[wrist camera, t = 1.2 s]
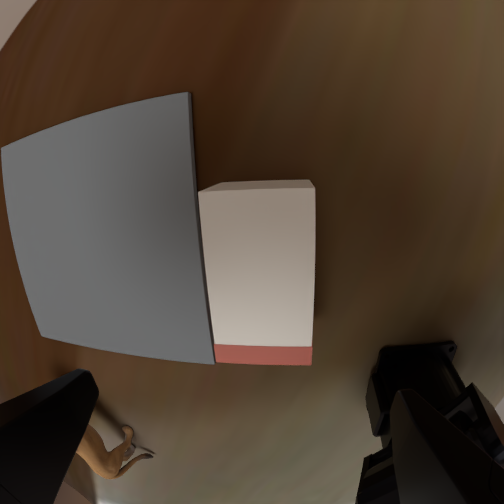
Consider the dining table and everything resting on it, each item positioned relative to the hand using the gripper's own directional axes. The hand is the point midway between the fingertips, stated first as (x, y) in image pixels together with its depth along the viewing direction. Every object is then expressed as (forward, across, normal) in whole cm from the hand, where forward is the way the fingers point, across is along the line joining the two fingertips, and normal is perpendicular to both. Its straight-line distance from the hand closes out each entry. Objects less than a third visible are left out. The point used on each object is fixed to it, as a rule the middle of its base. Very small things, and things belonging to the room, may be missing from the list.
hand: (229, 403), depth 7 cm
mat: (+12, +13, -1) cm, 17 cm away
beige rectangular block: (+12, 0, 0) cm, 12 cm away
